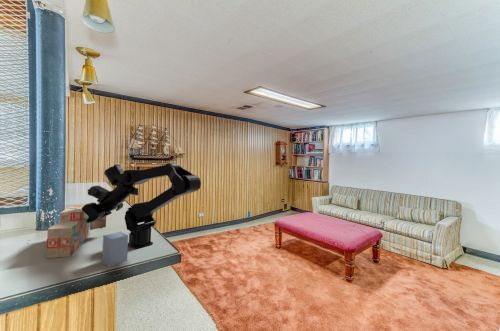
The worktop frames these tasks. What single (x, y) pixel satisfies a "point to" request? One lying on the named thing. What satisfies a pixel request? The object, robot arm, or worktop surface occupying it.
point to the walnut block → (98, 223)
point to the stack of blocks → (67, 232)
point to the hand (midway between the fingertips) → (87, 221)
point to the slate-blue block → (115, 248)
